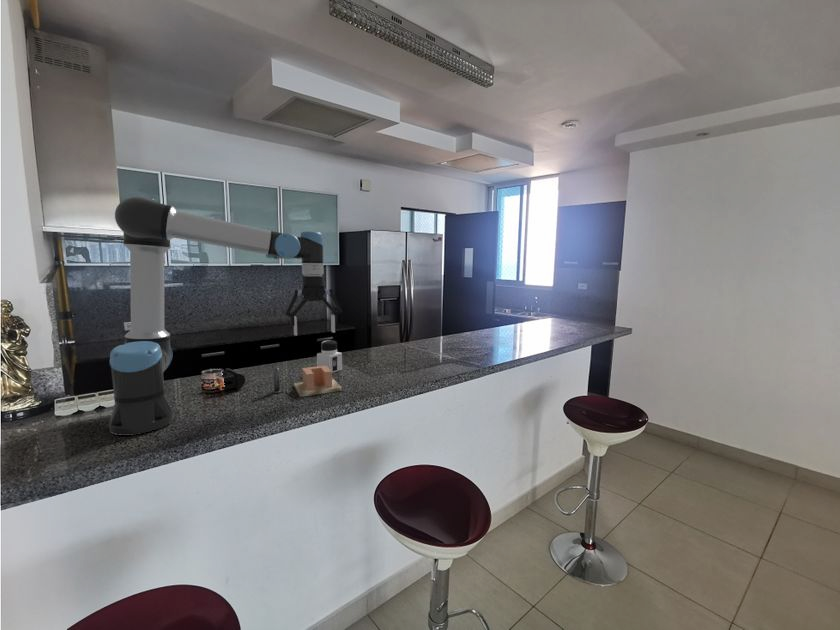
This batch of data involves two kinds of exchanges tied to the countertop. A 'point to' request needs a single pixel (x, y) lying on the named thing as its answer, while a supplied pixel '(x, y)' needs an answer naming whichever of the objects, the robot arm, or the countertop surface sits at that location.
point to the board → (316, 388)
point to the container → (330, 356)
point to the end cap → (232, 380)
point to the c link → (316, 377)
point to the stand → (276, 380)
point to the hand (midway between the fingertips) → (314, 333)
